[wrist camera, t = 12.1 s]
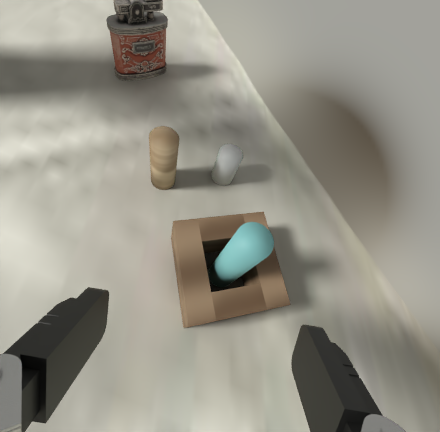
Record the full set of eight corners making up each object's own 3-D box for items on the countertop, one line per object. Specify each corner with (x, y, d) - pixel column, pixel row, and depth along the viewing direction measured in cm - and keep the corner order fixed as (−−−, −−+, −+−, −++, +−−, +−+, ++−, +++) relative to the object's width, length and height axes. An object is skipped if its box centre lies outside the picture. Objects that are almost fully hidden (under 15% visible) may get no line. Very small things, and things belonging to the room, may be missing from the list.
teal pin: (206, 263, 30) (231, 224, 19) (230, 259, 31) (267, 219, 20) (211, 289, 29) (240, 263, 18) (236, 284, 30) (278, 256, 19)
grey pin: (209, 167, 36) (216, 144, 31) (230, 166, 36) (239, 143, 32) (213, 186, 34) (221, 164, 30) (234, 184, 35) (245, 163, 31)
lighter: (120, 83, 38) (109, 8, 29) (111, 68, 39) (98, -10, 30) (169, 74, 41) (173, 3, 32) (160, 60, 42) (161, -13, 33)
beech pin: (150, 170, 33) (147, 126, 26) (173, 169, 34) (177, 126, 27) (152, 190, 32) (150, 150, 25) (176, 188, 33) (181, 149, 26)
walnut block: (171, 237, 30) (173, 221, 26) (249, 228, 33) (263, 211, 29) (183, 328, 27) (188, 327, 22) (270, 308, 29) (290, 304, 25)
